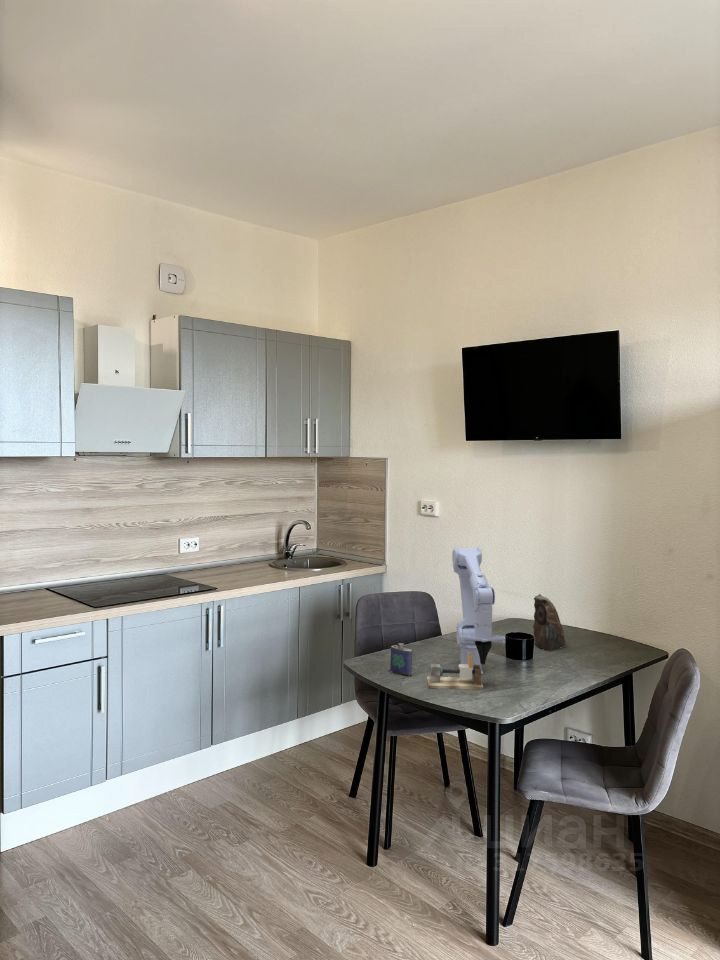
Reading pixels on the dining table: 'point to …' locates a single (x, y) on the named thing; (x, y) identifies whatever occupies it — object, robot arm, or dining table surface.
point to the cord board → (454, 679)
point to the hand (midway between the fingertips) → (482, 663)
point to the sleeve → (466, 669)
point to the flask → (401, 660)
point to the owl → (547, 625)
